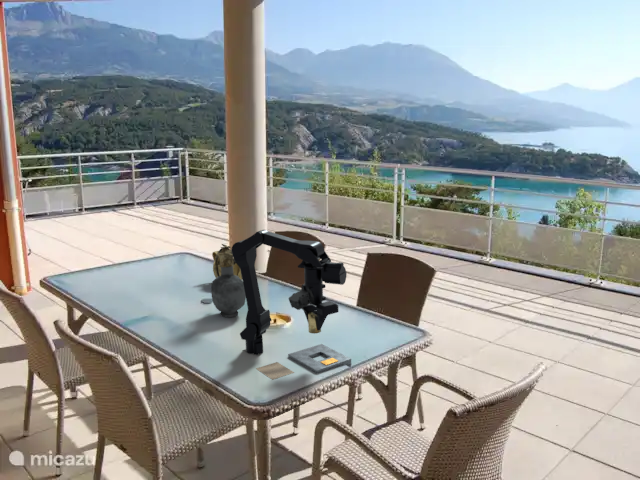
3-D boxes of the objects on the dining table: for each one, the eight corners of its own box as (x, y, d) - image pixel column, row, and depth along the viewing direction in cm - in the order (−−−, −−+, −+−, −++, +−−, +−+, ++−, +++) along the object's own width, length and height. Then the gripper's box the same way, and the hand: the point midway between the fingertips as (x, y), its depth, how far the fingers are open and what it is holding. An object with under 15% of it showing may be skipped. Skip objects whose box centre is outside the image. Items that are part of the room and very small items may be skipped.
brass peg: (306, 330, 177) (305, 313, 176) (316, 328, 179) (315, 310, 178) (313, 334, 174) (312, 316, 172) (323, 331, 176) (322, 313, 175)
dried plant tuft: (203, 282, 275) (201, 253, 272) (229, 275, 288) (227, 247, 285) (232, 290, 261) (231, 260, 258) (258, 282, 274) (257, 253, 271)
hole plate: (288, 359, 182) (288, 353, 181) (321, 349, 190) (321, 343, 190) (316, 376, 169) (316, 369, 169) (351, 364, 177) (351, 358, 177)
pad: (255, 371, 173) (255, 368, 173) (277, 364, 178) (277, 361, 178) (272, 382, 166) (272, 379, 165) (294, 375, 170) (294, 372, 170)
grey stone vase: (225, 322, 218) (221, 249, 212) (206, 309, 233) (202, 241, 227) (249, 316, 224) (246, 245, 218) (229, 305, 239) (226, 238, 233)
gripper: (276, 280, 176) (278, 325, 179) (309, 293, 161) (310, 342, 164) (305, 274, 182) (306, 318, 185) (339, 286, 167) (340, 334, 170)
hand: (314, 328), depth 176 cm, fingers closed on brass peg, 4 cm apart
